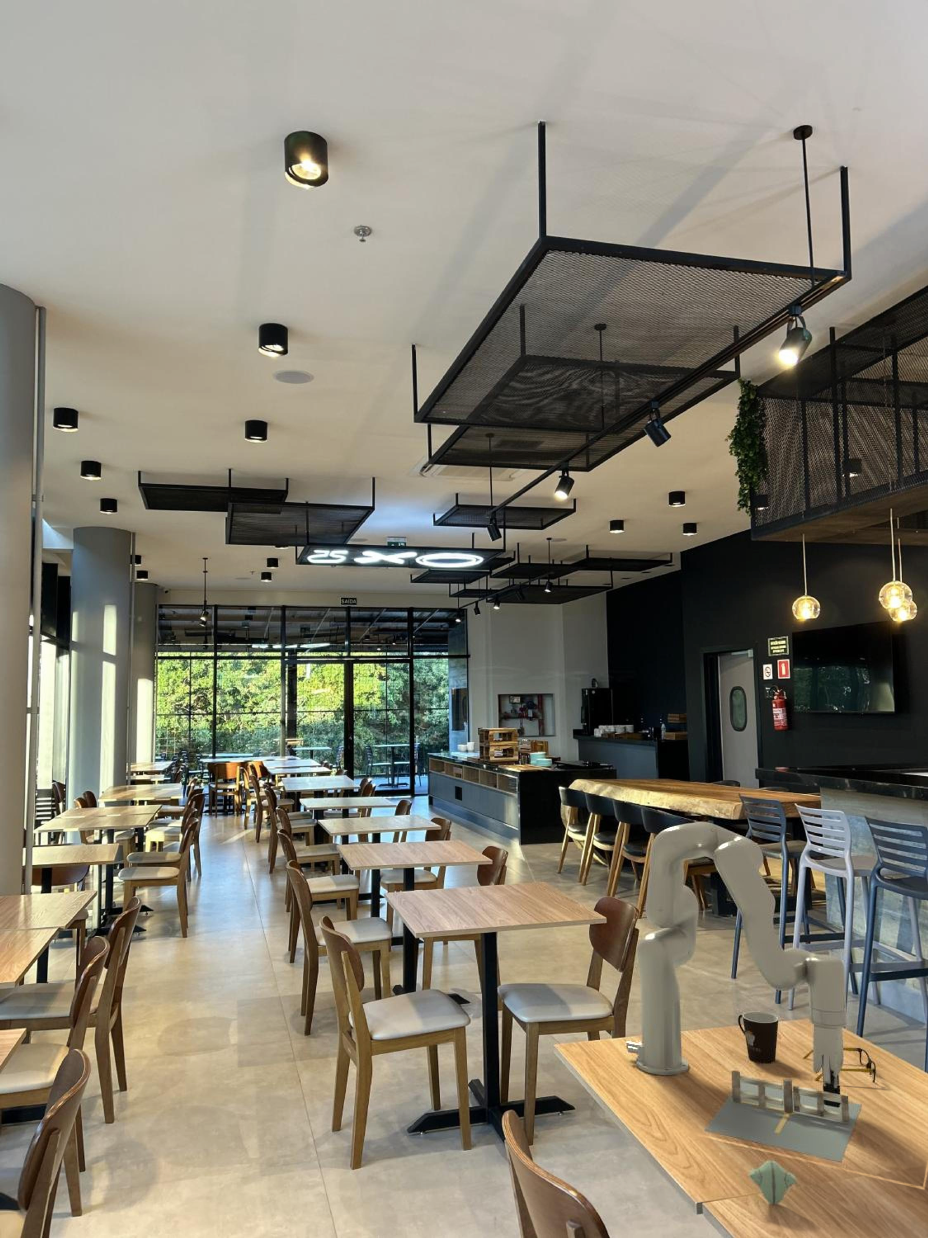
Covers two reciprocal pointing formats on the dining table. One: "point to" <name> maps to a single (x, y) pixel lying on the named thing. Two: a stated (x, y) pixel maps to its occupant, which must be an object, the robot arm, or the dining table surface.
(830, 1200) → the dining table surface
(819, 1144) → the card
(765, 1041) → the coffee mug
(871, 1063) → the eyeglasses
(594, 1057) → the dining table surface
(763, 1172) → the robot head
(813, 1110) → the fence gate
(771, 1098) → the fence section
